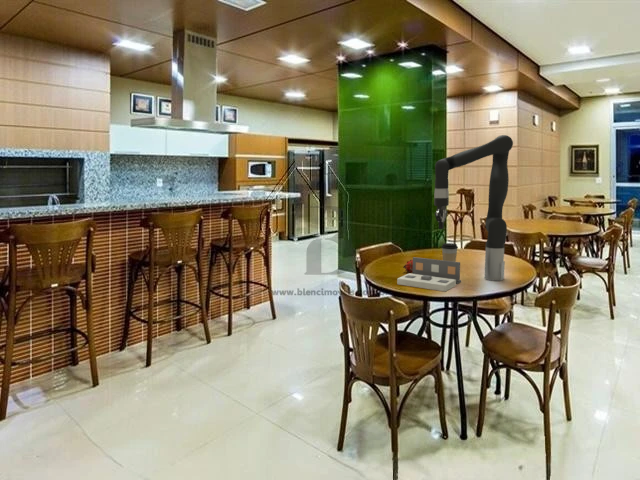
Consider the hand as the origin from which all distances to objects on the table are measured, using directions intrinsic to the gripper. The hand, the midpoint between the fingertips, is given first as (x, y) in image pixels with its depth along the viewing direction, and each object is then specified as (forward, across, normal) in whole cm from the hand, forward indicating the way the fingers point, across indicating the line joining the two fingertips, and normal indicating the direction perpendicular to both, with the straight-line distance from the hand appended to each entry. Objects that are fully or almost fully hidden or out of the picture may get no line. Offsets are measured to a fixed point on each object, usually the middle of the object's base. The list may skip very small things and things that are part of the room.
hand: (441, 228), depth 243 cm
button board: (+26, -21, -1) cm, 34 cm away
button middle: (+25, -21, -1) cm, 33 cm away
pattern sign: (+27, -9, -1) cm, 28 cm away
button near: (+26, -21, -10) cm, 35 cm away
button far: (+26, -21, +8) cm, 35 cm away
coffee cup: (+27, +19, +2) cm, 33 cm away
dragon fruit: (+27, 0, +16) cm, 31 cm away
